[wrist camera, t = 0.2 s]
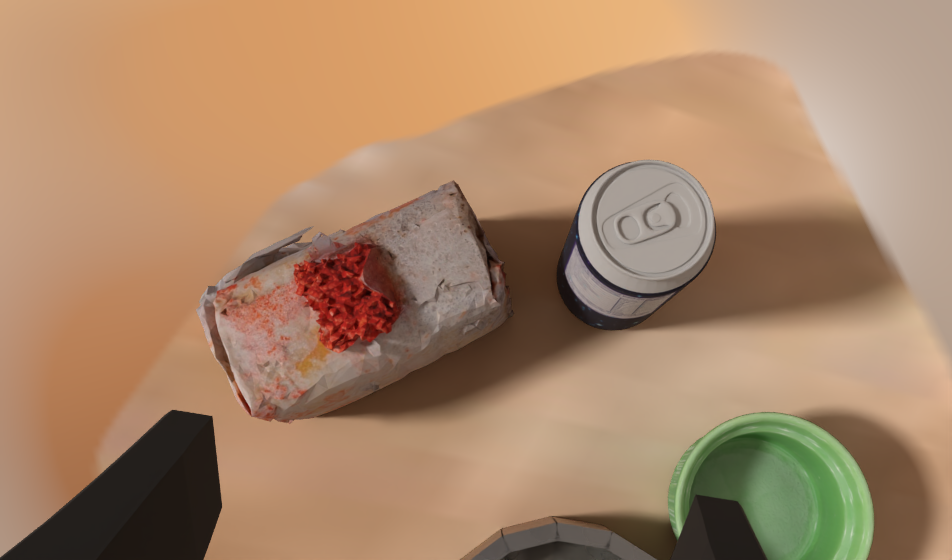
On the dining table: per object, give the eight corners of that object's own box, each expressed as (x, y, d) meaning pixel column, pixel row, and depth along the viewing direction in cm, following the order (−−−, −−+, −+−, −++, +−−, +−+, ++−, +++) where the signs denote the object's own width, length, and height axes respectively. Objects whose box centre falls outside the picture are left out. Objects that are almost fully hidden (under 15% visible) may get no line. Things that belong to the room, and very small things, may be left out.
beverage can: (678, 310, 44) (748, 260, 32) (578, 348, 44) (612, 310, 32) (637, 213, 45) (690, 130, 33) (539, 249, 45) (557, 178, 33)
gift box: (289, 447, 43) (231, 446, 33) (226, 311, 44) (154, 273, 35) (523, 326, 44) (532, 292, 34) (454, 197, 46) (445, 130, 36)
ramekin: (861, 571, 41) (905, 586, 37) (688, 621, 41) (711, 641, 37) (801, 395, 43) (835, 389, 39) (634, 441, 43) (650, 441, 38)
